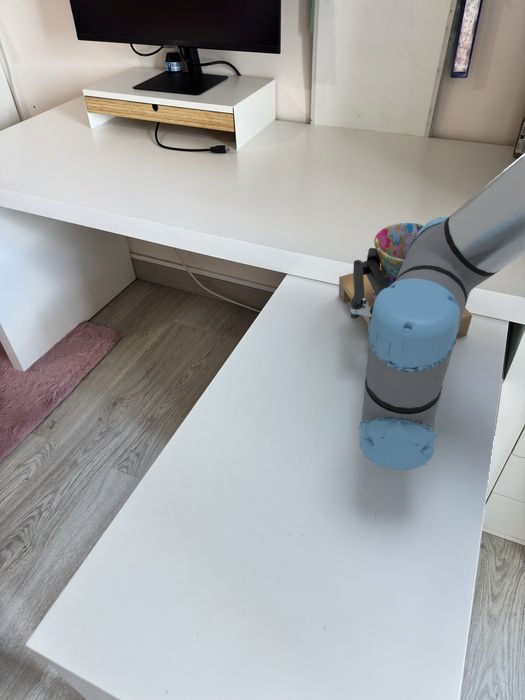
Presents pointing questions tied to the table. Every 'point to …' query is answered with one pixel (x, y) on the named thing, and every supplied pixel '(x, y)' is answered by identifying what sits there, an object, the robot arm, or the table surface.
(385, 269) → the mug
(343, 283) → the shelf
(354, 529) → the table surface
